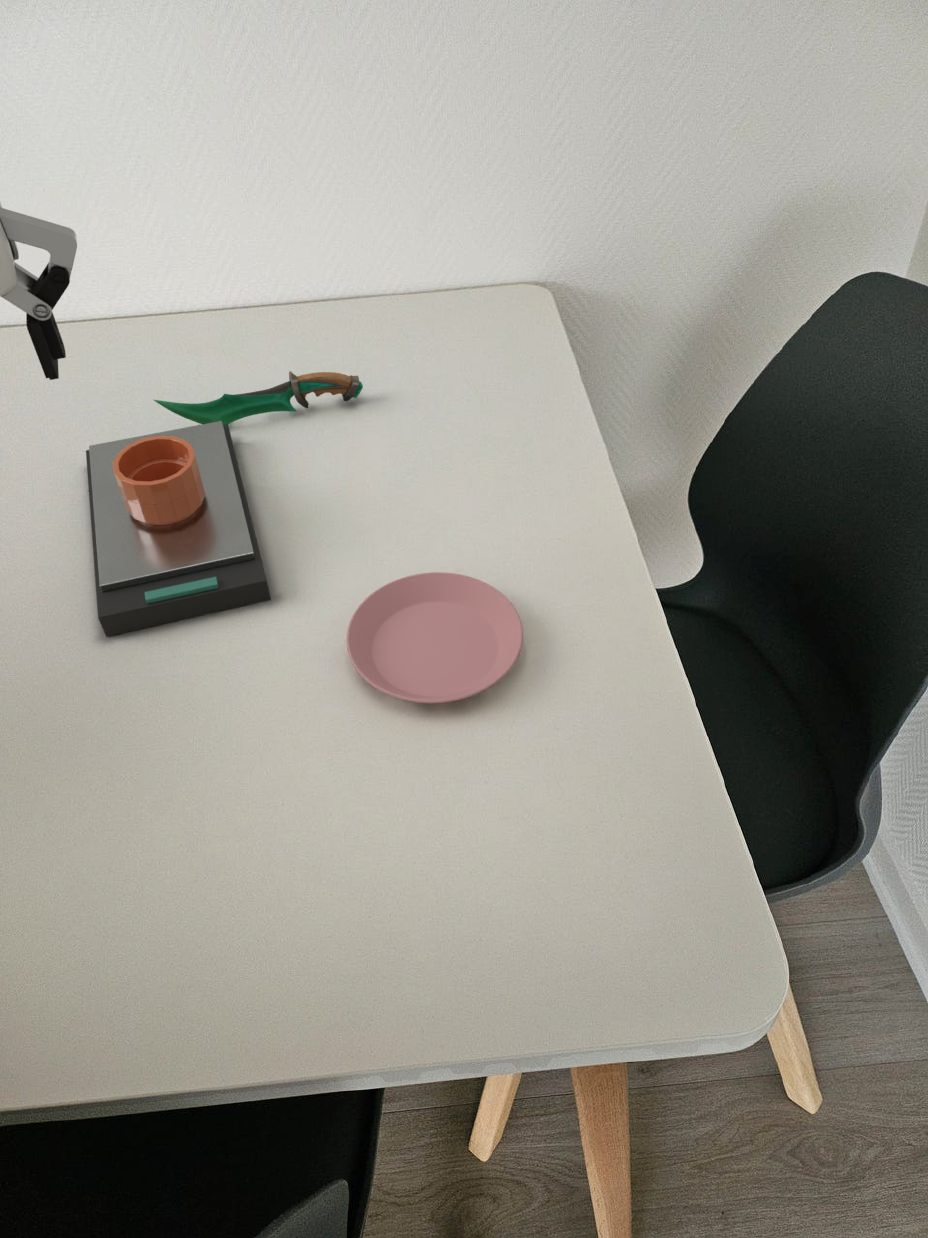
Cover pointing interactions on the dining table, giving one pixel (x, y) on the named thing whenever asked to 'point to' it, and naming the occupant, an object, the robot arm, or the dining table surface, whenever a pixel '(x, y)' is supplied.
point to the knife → (268, 398)
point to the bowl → (159, 480)
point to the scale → (174, 542)
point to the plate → (434, 637)
